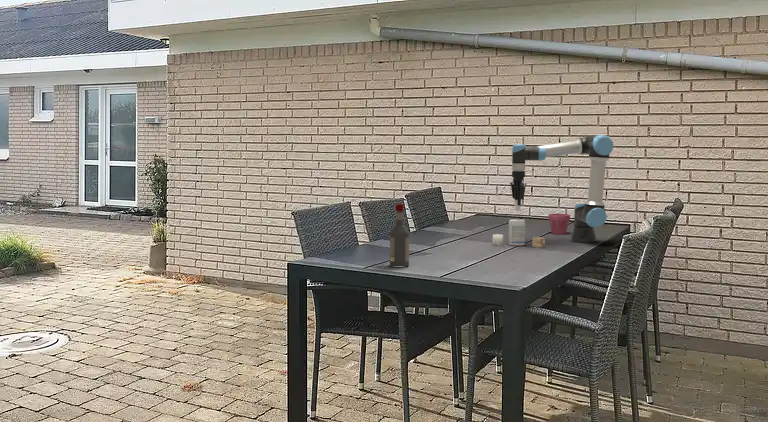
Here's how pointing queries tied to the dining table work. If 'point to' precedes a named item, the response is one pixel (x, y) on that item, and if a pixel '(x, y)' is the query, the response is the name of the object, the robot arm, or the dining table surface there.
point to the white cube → (498, 239)
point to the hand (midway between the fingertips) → (517, 211)
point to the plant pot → (559, 223)
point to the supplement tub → (517, 232)
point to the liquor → (399, 241)
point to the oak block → (538, 242)
